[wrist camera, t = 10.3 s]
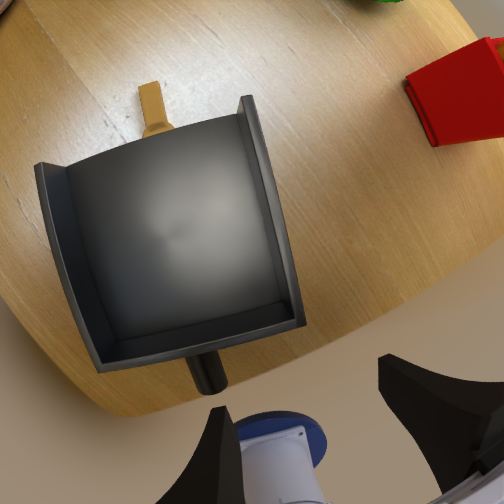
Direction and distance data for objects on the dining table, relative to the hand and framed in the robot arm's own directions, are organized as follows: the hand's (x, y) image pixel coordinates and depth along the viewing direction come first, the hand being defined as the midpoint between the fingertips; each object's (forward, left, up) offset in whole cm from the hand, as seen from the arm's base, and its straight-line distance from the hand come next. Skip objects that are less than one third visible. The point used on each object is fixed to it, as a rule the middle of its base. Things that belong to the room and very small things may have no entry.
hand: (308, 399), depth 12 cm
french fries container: (+14, -20, -10) cm, 26 cm away
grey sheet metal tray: (+7, +4, -4) cm, 9 cm away
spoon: (+16, +4, -9) cm, 19 cm away
